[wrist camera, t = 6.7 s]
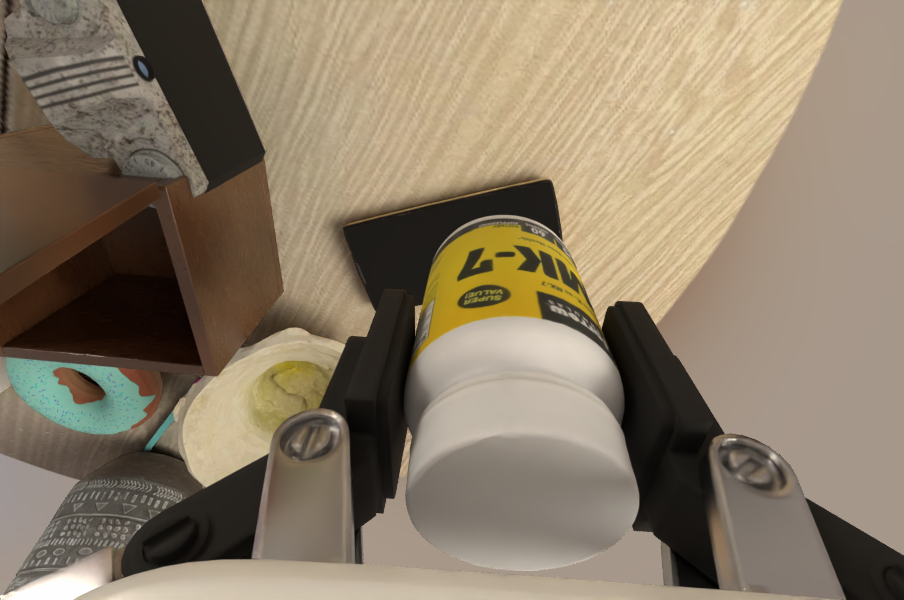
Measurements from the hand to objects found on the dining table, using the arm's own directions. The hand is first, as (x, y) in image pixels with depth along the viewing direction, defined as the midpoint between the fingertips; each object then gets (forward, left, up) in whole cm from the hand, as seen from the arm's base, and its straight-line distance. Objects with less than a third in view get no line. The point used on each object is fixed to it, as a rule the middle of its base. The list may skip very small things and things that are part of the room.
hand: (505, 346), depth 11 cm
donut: (+21, -33, -20) cm, 44 cm away
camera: (-4, -20, -20) cm, 28 cm away
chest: (+6, -22, -20) cm, 30 cm away
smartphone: (+6, -2, -20) cm, 21 cm away
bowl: (+20, -13, -20) cm, 31 cm away
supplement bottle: (0, 0, -4) cm, 4 cm away
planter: (+35, -31, -20) cm, 51 cm away
